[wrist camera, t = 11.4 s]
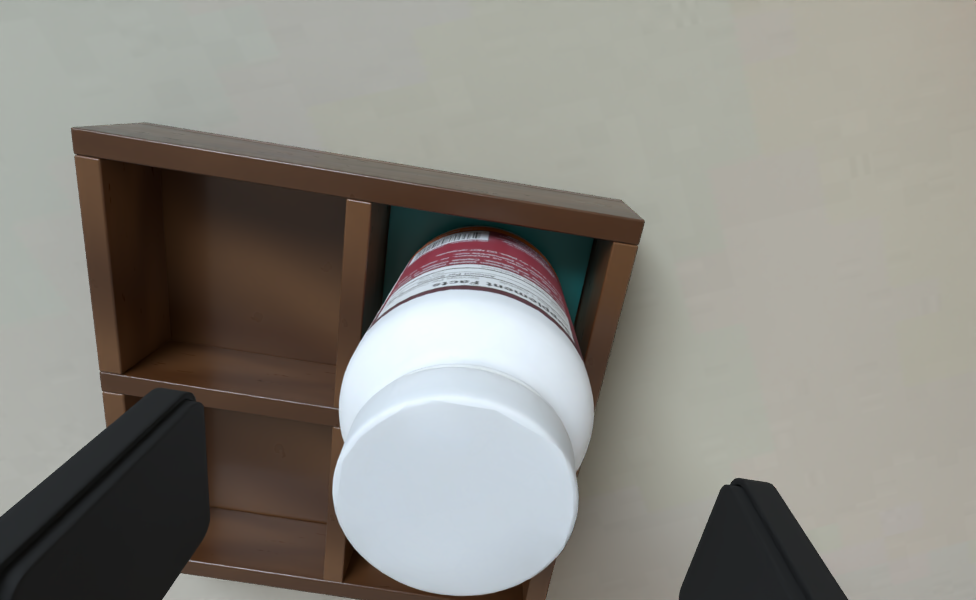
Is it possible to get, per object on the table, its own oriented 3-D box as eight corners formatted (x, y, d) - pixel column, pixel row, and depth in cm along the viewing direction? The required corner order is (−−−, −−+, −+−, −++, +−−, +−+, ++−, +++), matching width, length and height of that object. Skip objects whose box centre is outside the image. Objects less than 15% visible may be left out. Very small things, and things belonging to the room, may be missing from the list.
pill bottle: (507, 399, 22) (504, 670, 11) (371, 325, 21) (237, 547, 10) (595, 275, 20) (690, 468, 9) (451, 187, 19) (380, 294, 9)
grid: (144, 122, 19) (69, 127, 16) (622, 200, 19) (645, 220, 16) (172, 504, 25) (121, 565, 22) (534, 559, 26) (538, 627, 22)
